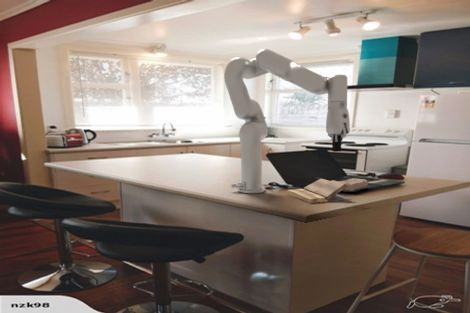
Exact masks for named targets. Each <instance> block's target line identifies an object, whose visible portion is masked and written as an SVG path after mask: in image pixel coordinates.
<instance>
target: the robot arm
mask: <svg viewBox="0 0 470 313" xmlns="http://www.w3.org/2000/svg"><path fill="white" fill-rule="evenodd" d="M269 73H270V74H272V75H274V76H276V77H278V78H280V79H281V80H284V81H285V82H289V83H291V84H293V85H295V86H297V87H299V88H301V89H303V90H305V91H306V92H309V93H312V94H314V95H320V96H321V95H327V112H326V119H325V131H326V133H327V136H328V137H330V139H331V142H332V143H331V146H332V147H331V148H332V149H331V151H332V152H335V153H336V152H341V151H342V142H343V139H345V138H347V136H348V134H349V133H350V132H351V131H350V130H351V127H350V125H351V124H350V113H349V109H348V76H347V75H346V74H332V75H330V76H323V75H322V74H319V73H317V72H314V71H312V70H310V69H308V68H306V67H304V66H302V65H300V64H298V63H297V62H296V61H294V60H293V59H290V58H288V57H286V56H284V55H281V54H280V53H278V52H276V51H274V50H271V49H268V48H263V49H260V50H259V51H258V52H257V53H256V55H255V57H254V58H252V59H247V58H245V57H240V56H239V57H234V58H232V59H231V60H230V61H229V62H228V63H227V65H226V67H225V69H224V75H223V77H224V84H225V86H226V89H227V92H228V95H229V99H230V102H231V105H232V108H233V111H234V114H235V116H236V118H238V120H244V122H245V123H243V125H241V126H240V129H239V133H238V134H239V137H238V138H239V144H240V180H239V181H238V182H233V183H231V184H230V187H231V188H233V189H234V188H236V189H237V191H238V192H239V193H243V194H261V193H264V192H266V187H264V186H263V149H262V148H263V147H262V142H261V141H264V140H265V139H266V138H267V136H268V133H269V130H268V128H269V127H268V126H267V122H266V119H265V116H264V112H263V110H262V107H261V105H260V103H259V102H258V101H256V100H255V99H253V98H252V99H251V96H250V94H249V91H248V87H247V85H246V83H245V81H244V79H246V80H250V79H254V78H257V77H261V76H263V75H267V74H269Z"/></svg>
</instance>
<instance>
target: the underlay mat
mask: <svg viewBox="0 0 470 313" xmlns="http://www.w3.org/2000/svg"><path fill="white" fill-rule="evenodd" d="M325 200H326V199H325ZM345 200H351V198H350V197H346V196H343V195H340V194H339V193H337V194H336V195H335V196H333V197H332V198H330V199H329V200H328V201H327V202H329V203H330V202H336V201H345ZM327 202H326V203H327ZM309 204H312V203H309Z"/></svg>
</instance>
